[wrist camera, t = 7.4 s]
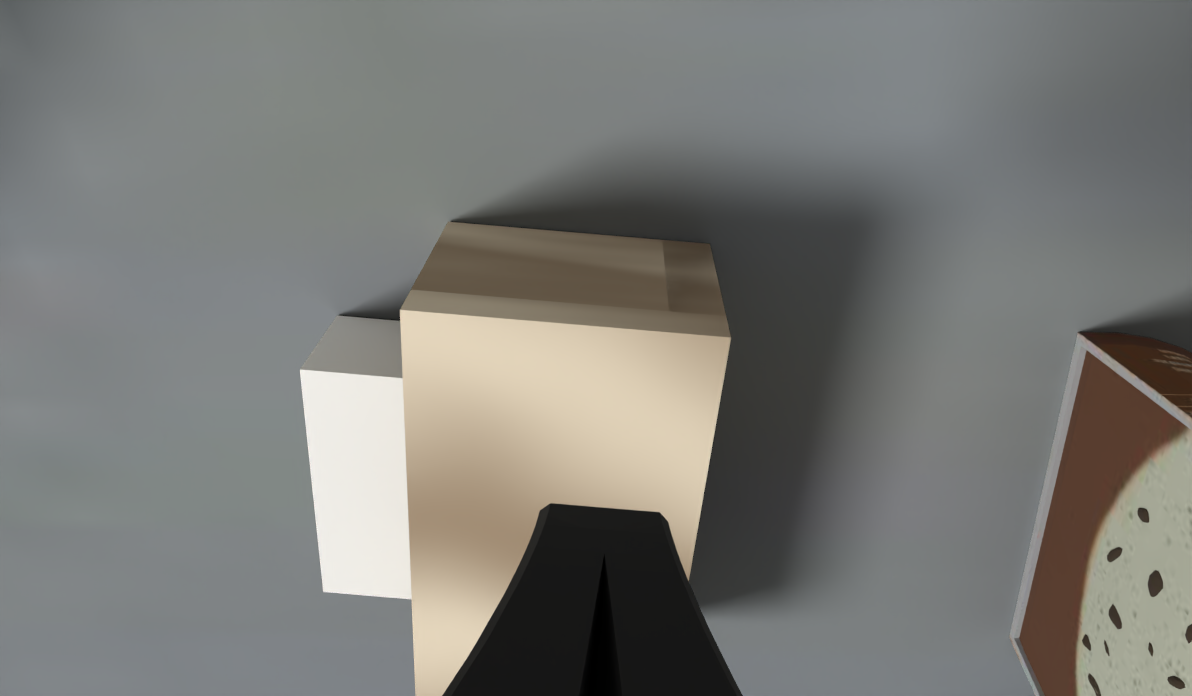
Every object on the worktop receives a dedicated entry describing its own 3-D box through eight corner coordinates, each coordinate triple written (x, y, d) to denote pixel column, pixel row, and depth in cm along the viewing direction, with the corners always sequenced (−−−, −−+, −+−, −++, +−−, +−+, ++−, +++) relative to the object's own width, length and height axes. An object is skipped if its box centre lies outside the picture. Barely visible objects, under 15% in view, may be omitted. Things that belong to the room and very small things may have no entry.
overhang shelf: (652, 620, 23) (657, 761, 19) (451, 603, 23) (417, 741, 19) (710, 243, 18) (731, 337, 14) (448, 221, 18) (399, 309, 14)
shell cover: (585, 543, 22) (580, 613, 20) (353, 523, 22) (323, 591, 19) (604, 338, 19) (602, 395, 17) (337, 315, 19) (300, 369, 17)
